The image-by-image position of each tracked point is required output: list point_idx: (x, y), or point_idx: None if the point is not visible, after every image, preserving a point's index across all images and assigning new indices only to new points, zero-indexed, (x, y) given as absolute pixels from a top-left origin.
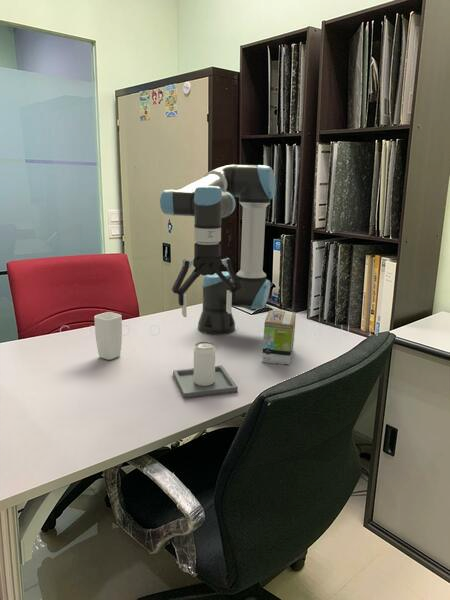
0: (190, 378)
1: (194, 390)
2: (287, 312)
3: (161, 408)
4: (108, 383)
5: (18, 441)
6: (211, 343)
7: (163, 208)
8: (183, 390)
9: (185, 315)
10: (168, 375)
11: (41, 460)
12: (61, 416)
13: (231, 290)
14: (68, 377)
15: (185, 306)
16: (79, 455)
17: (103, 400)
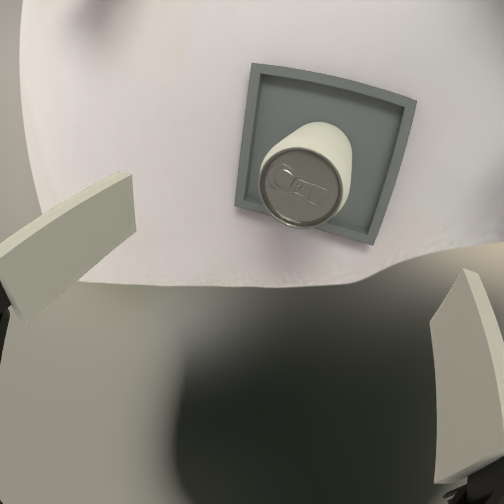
0: (293, 112)
1: (262, 205)
2: None
3: (187, 212)
4: (114, 67)
5: (46, 206)
6: (340, 183)
7: None
8: (237, 192)
9: (124, 235)
10: (246, 57)
11: None
12: (64, 168)
13: (451, 500)
14: (68, 32)
15: (82, 268)
16: None
17: (103, 138)
